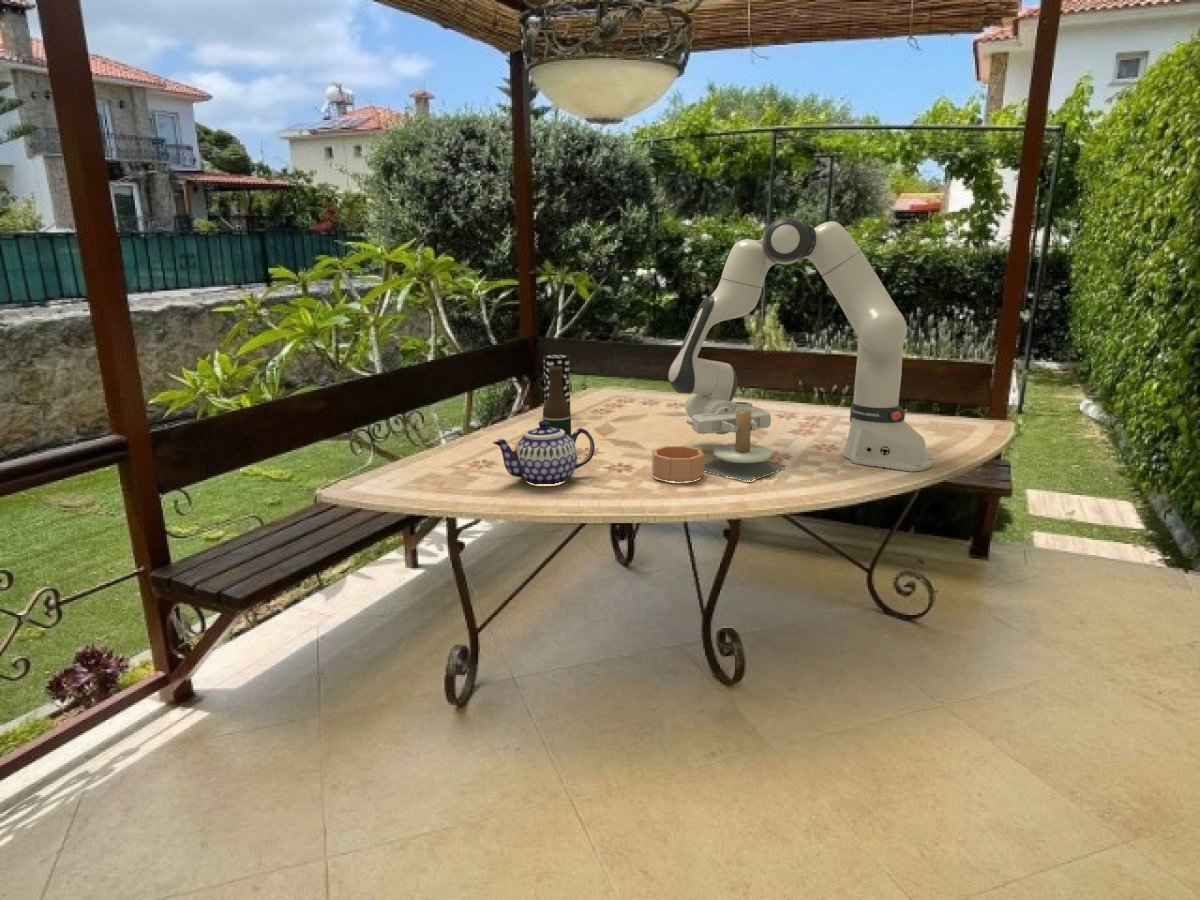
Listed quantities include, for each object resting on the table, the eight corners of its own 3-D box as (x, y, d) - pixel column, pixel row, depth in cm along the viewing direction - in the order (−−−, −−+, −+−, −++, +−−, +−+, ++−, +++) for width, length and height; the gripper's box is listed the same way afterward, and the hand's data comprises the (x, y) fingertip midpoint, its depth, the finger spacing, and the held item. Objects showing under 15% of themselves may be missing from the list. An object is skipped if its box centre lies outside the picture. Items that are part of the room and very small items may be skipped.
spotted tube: (542, 415, 247) (540, 355, 242) (566, 413, 249) (565, 354, 244) (548, 420, 239) (546, 358, 234) (573, 418, 242) (572, 357, 237)
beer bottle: (575, 452, 202) (574, 365, 196) (566, 460, 195) (565, 369, 189) (548, 451, 204) (546, 364, 198) (538, 458, 197) (536, 368, 191)
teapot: (585, 467, 189) (585, 410, 185) (605, 484, 175) (605, 423, 172) (487, 477, 181) (485, 417, 177) (500, 495, 168) (498, 431, 164)
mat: (784, 468, 186) (784, 466, 186) (749, 483, 175) (749, 481, 175) (730, 457, 197) (731, 455, 197) (694, 470, 186) (694, 468, 186)
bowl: (712, 475, 181) (712, 451, 180) (681, 487, 173) (682, 462, 171) (673, 466, 189) (673, 443, 188) (642, 476, 181) (642, 452, 179)
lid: (782, 453, 185) (783, 410, 182) (751, 466, 175) (752, 420, 173) (734, 444, 195) (735, 403, 192) (702, 456, 185) (703, 412, 182)
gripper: (683, 408, 192) (706, 419, 179) (755, 401, 197) (782, 412, 184) (683, 432, 193) (705, 444, 180) (754, 425, 199) (781, 436, 186)
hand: (745, 428), depth 182 cm, fingers closed on lid, 4 cm apart
